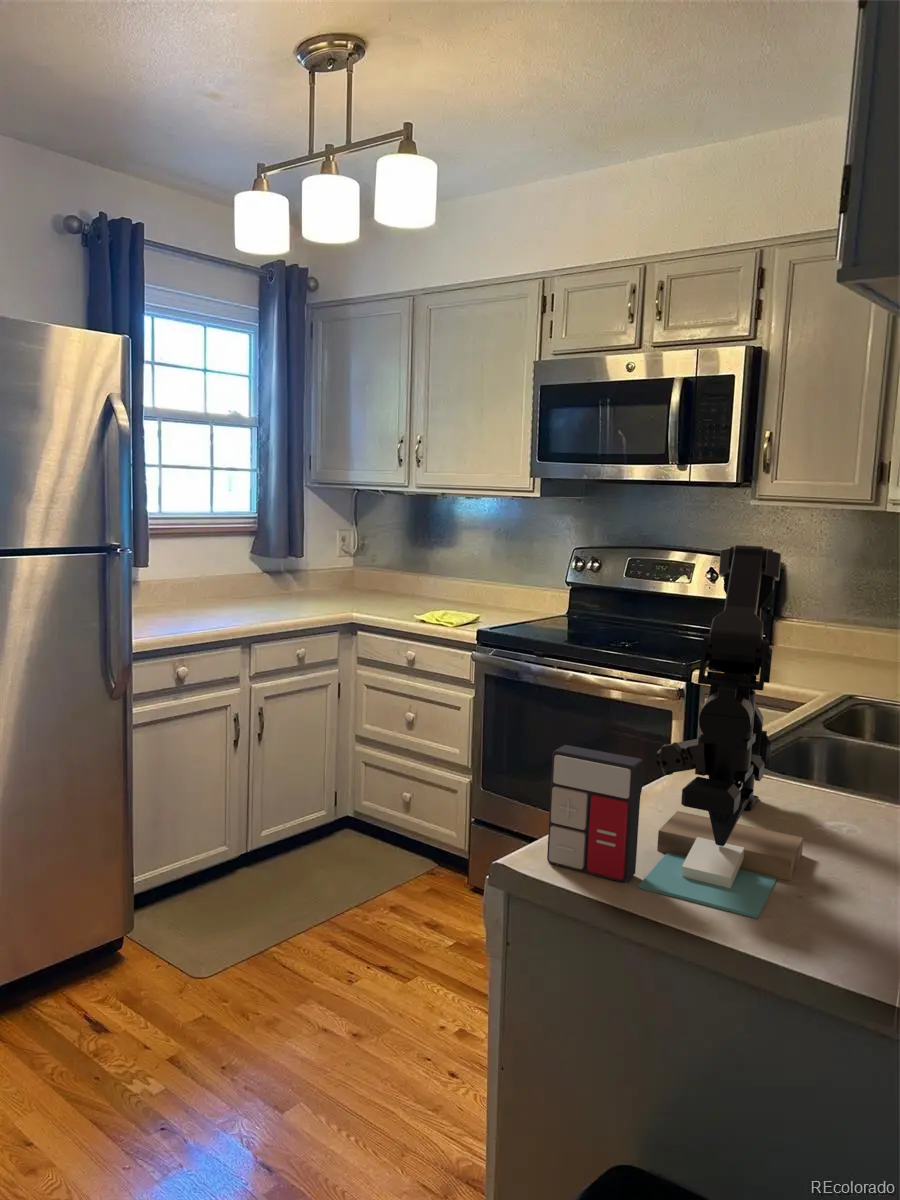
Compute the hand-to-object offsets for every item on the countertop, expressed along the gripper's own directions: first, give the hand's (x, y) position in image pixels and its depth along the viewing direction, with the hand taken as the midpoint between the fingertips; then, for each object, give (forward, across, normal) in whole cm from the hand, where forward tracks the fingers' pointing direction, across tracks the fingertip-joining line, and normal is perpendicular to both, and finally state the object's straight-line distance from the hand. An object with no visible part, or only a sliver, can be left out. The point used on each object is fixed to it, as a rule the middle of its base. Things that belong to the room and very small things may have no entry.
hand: (720, 844), depth 114 cm
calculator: (+4, +9, -14) cm, 17 cm away
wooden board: (+4, -6, 0) cm, 7 cm away
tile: (+2, +2, 0) cm, 3 cm away
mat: (+4, +5, 0) cm, 6 cm away
